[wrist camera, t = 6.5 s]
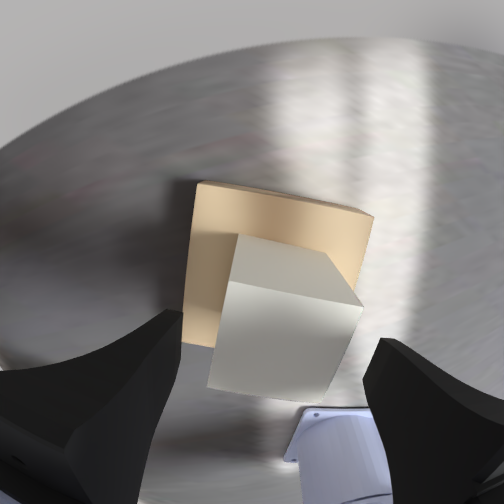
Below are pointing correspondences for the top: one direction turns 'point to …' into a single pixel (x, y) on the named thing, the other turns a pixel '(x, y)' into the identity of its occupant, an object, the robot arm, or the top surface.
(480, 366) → the top surface
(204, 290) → the oak block
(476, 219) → the top surface
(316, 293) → the white block
